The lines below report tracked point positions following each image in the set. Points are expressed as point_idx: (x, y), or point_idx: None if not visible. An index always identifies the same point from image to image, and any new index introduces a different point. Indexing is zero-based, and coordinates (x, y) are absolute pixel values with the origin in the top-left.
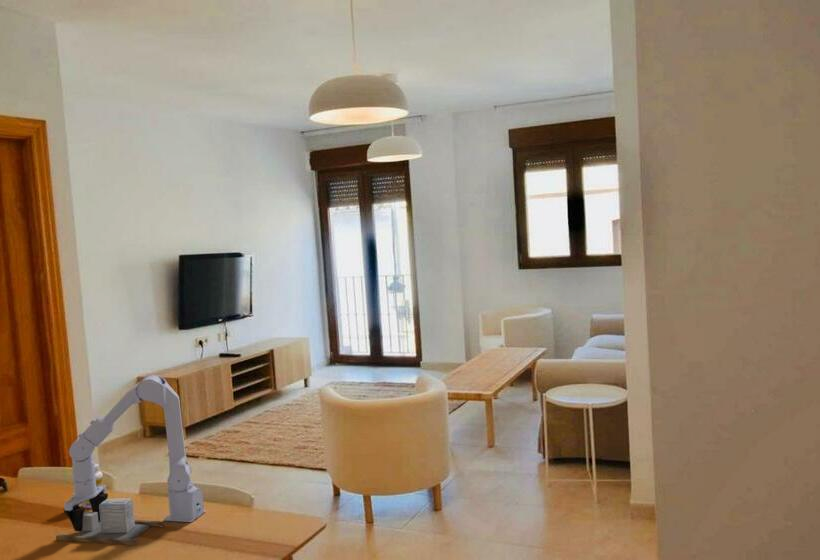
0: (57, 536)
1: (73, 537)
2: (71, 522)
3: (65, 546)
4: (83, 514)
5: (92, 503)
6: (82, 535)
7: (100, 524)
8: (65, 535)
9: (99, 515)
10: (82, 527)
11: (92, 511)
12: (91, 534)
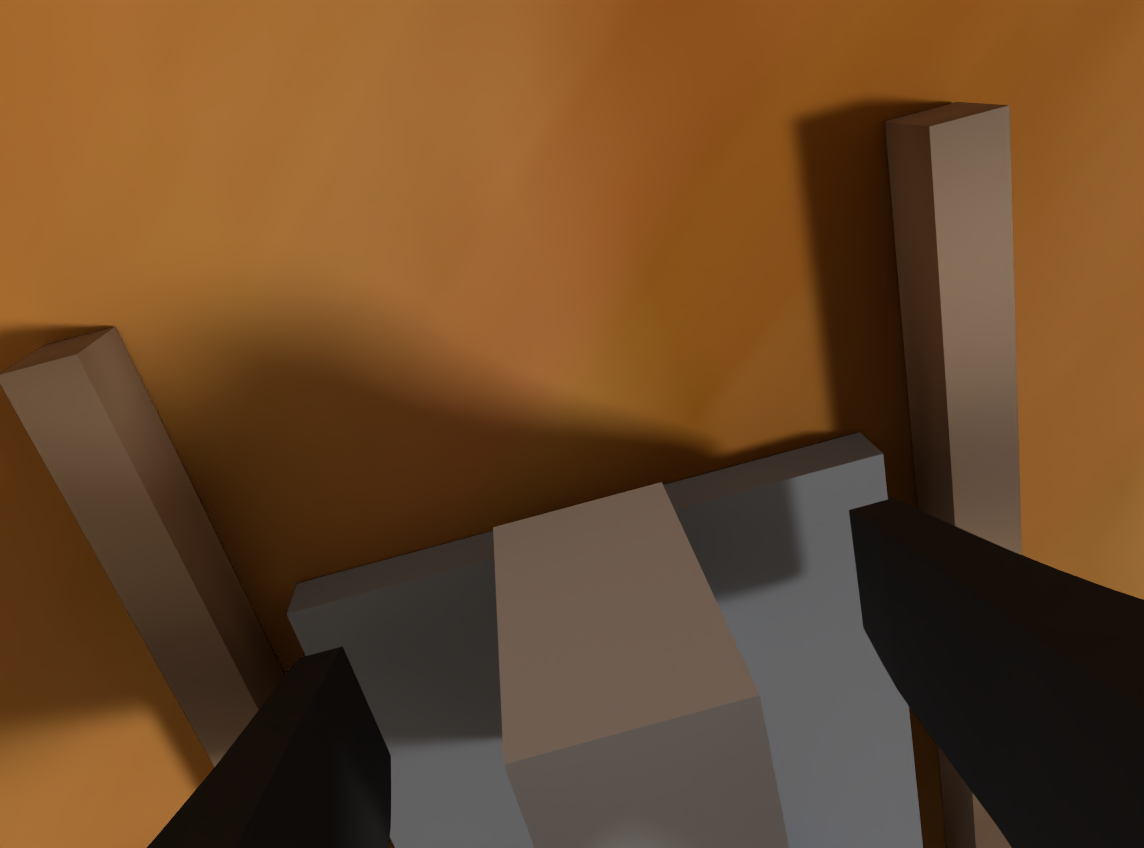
0: (23, 410)
1: (202, 733)
2: (186, 805)
3: (36, 735)
4: (574, 819)
5: (1113, 768)
6: None
7: (809, 619)
8: (141, 553)
9: (912, 691)
10: (382, 822)
11: (949, 585)
12: (459, 829)
